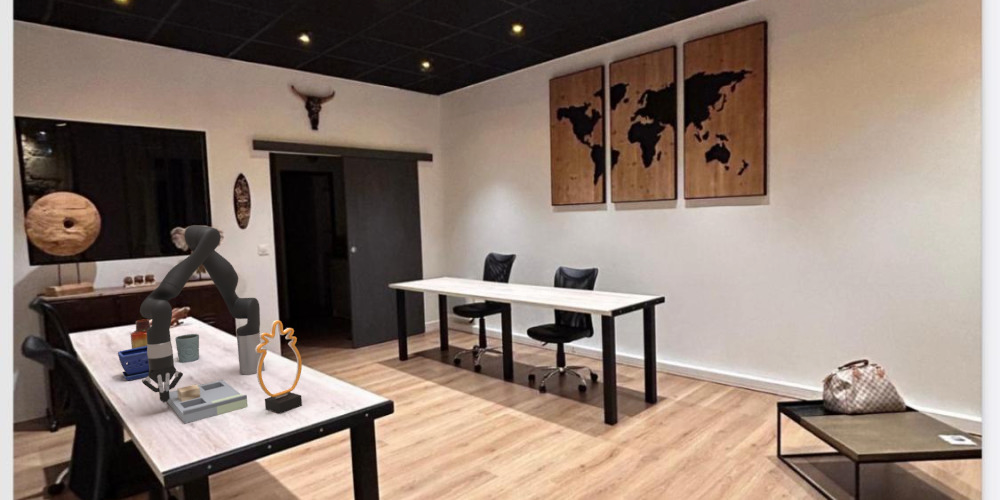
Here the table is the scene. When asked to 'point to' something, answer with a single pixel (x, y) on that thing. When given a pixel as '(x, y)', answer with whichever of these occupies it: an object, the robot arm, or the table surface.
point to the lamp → (285, 398)
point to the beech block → (188, 392)
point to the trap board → (208, 402)
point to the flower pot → (134, 363)
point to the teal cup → (187, 347)
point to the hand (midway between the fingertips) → (165, 401)
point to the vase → (140, 334)
